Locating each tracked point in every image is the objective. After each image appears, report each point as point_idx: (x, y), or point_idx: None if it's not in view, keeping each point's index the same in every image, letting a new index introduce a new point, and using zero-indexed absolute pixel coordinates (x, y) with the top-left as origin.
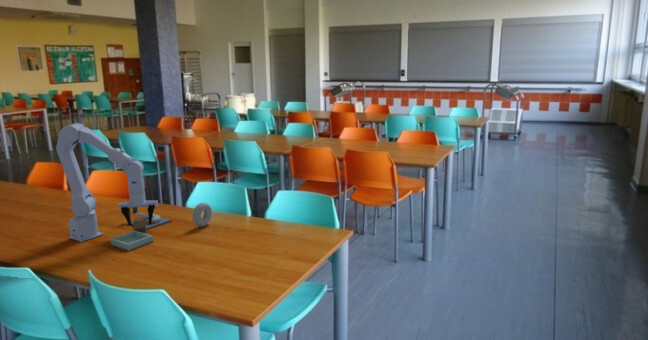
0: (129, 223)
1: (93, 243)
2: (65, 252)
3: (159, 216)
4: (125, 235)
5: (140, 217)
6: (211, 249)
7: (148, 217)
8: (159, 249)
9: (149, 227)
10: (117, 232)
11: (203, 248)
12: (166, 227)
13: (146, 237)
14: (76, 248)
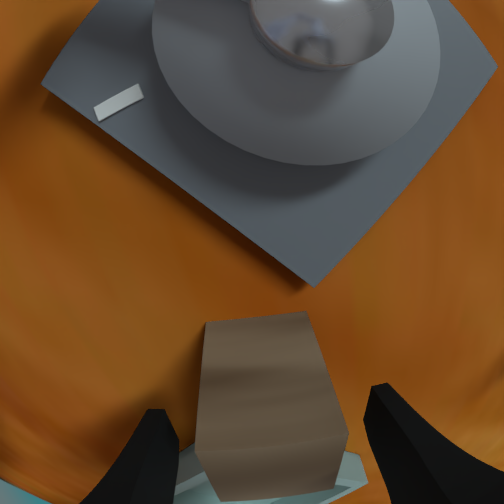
0: (172, 469)
1: (45, 434)
2: (25, 464)
3: (426, 11)
4: (198, 480)
5: (275, 449)
6: (499, 445)
7: (307, 69)
8: (376, 486)
9: (330, 269)
10: (44, 307)
11: (489, 447)
12: (462, 230)
13: (336, 497)
14: (27, 451)
